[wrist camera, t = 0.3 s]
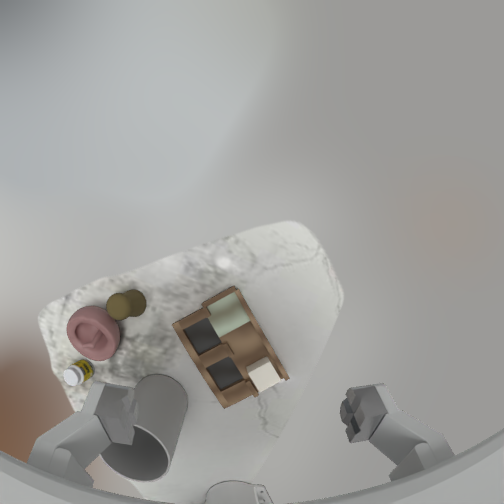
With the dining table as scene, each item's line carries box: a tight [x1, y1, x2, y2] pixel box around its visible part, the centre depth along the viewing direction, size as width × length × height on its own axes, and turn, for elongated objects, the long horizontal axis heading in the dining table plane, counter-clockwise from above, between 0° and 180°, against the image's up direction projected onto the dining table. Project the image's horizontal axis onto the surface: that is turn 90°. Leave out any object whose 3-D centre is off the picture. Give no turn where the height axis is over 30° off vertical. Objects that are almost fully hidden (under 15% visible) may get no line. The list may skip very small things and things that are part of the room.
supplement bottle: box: [63, 359, 94, 386], centre depth 53 cm, size 5×5×8 cm
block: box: [246, 356, 281, 392], centre depth 57 cm, size 5×5×4 cm
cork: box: [106, 290, 146, 320], centre depth 55 cm, size 6×6×11 cm
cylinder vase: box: [100, 375, 188, 482], centre depth 46 cm, size 12×12×25 cm
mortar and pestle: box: [67, 306, 120, 361], centre depth 53 cm, size 12×12×11 cm
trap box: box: [172, 286, 290, 409], centre depth 59 cm, size 23×16×4 cm
